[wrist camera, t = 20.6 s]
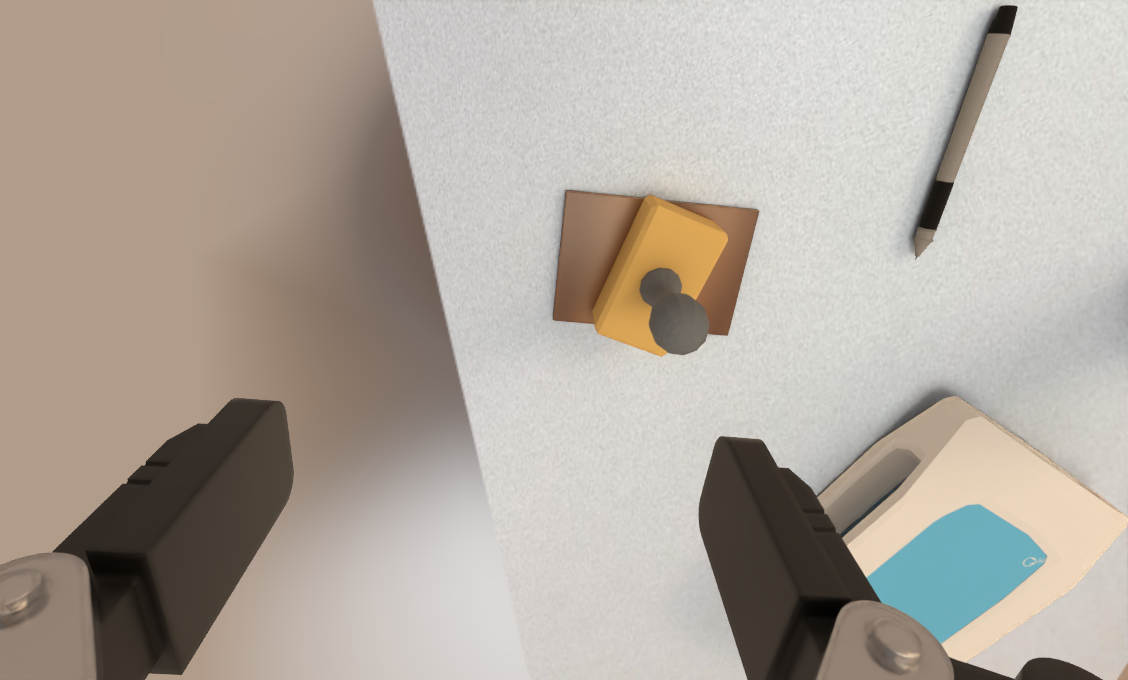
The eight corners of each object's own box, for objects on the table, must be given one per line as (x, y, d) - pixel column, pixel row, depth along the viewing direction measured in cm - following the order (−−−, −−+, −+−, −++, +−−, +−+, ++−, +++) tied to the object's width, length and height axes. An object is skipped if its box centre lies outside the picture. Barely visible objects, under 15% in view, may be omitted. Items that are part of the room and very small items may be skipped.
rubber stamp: (657, 337, 45) (690, 423, 34) (590, 313, 44) (602, 393, 33) (717, 222, 41) (777, 278, 30) (645, 192, 40) (680, 238, 29)
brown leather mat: (552, 317, 44) (552, 320, 44) (566, 189, 40) (566, 191, 40) (726, 333, 45) (727, 335, 45) (757, 209, 41) (759, 210, 40)
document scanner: (724, 582, 57) (742, 638, 52) (938, 381, 47) (990, 424, 42) (868, 653, 63) (899, 710, 57) (1088, 486, 53) (1152, 535, 47)
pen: (1011, 8, 36) (1026, 5, 34) (919, 257, 43) (929, 263, 42) (991, 6, 36) (1006, 3, 34) (902, 256, 43) (912, 262, 41)
